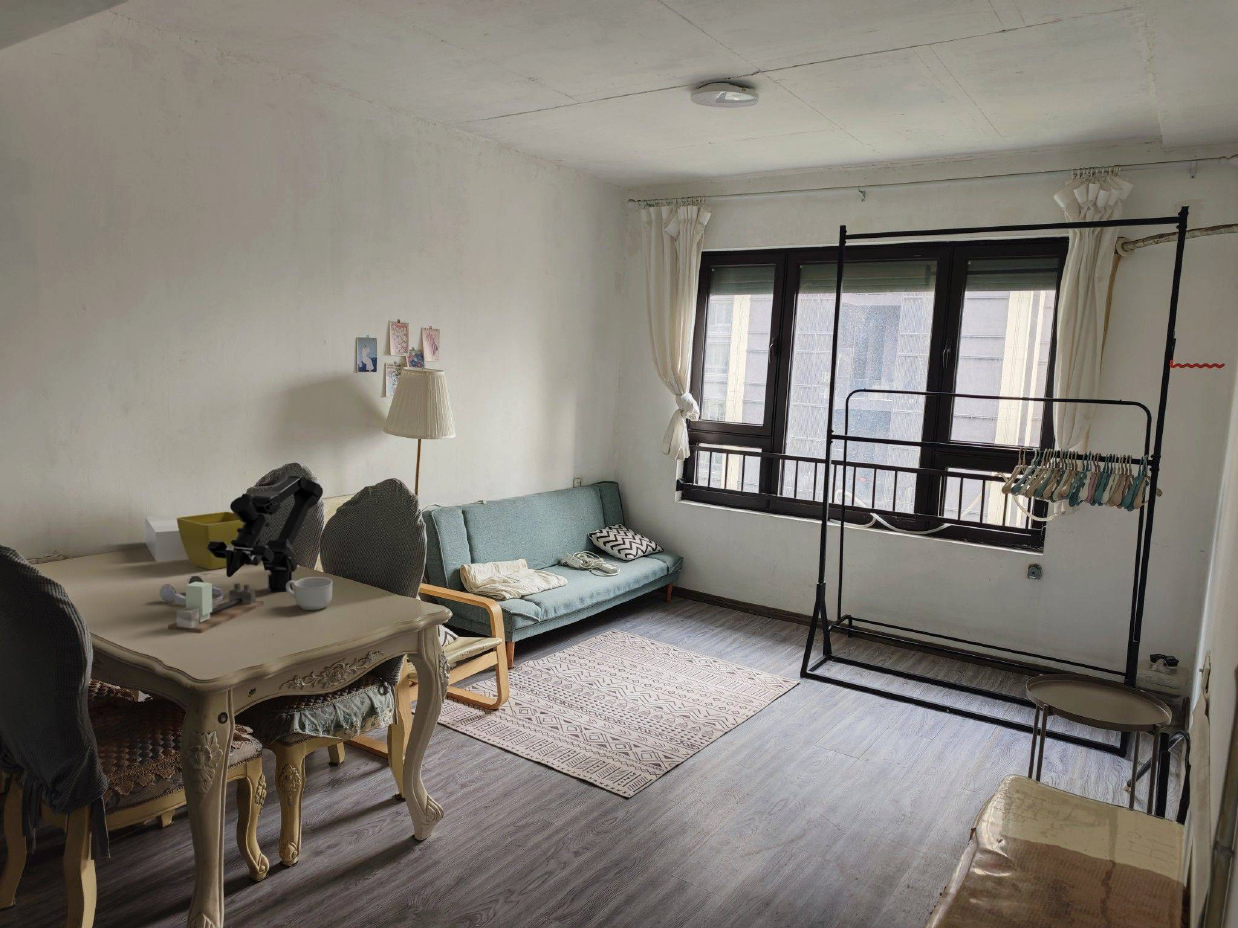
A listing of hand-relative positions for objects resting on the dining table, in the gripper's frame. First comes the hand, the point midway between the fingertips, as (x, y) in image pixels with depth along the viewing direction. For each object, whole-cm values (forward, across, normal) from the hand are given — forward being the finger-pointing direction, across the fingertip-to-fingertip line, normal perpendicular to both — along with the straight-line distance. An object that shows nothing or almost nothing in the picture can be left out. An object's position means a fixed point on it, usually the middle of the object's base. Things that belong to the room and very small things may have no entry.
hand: (228, 576), depth 244 cm
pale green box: (+15, 0, +3) cm, 16 cm away
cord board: (+11, 0, -4) cm, 11 cm away
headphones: (+1, +18, -14) cm, 23 cm away
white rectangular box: (-33, +67, -50) cm, 90 cm away
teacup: (-1, -18, -16) cm, 24 cm away
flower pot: (-25, +38, -42) cm, 62 cm away
